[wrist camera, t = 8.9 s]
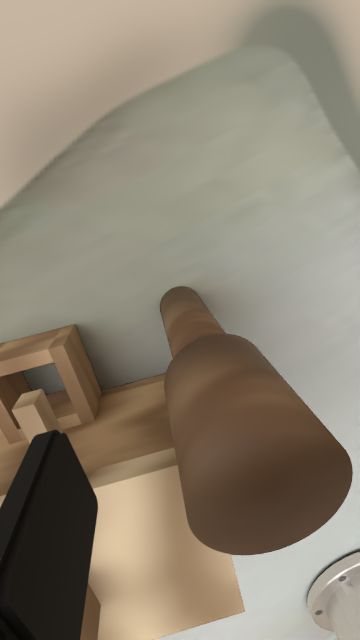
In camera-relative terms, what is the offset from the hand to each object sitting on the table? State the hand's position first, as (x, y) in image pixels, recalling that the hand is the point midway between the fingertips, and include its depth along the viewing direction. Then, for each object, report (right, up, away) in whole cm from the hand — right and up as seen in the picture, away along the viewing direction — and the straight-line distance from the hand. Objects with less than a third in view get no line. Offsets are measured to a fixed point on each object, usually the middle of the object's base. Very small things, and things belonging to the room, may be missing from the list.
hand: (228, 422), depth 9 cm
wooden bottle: (-1, +4, +10) cm, 11 cm away
